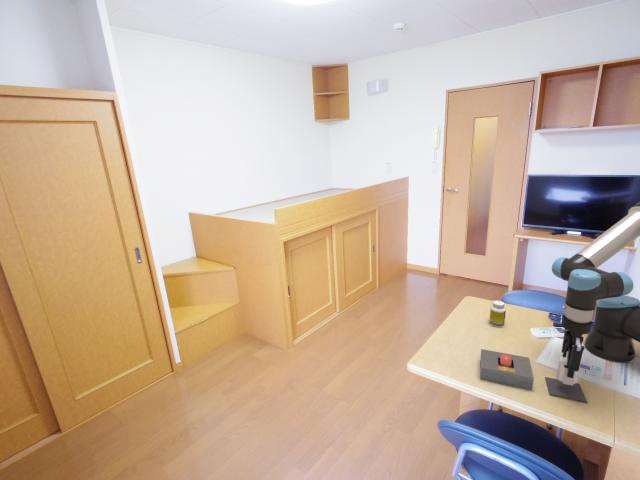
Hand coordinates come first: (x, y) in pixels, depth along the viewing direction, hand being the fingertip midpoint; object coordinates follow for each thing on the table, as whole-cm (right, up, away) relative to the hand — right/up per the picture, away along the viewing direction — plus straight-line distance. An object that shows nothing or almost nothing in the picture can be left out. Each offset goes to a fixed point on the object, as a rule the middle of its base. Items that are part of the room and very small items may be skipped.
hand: (566, 379), depth 112 cm
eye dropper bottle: (0, 0, 0) cm, 0 cm away
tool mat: (0, -4, +1) cm, 4 cm away
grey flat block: (-15, -2, +10) cm, 19 cm away
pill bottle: (-1, +8, +43) cm, 44 cm away
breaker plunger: (-15, -2, +10) cm, 18 cm away
